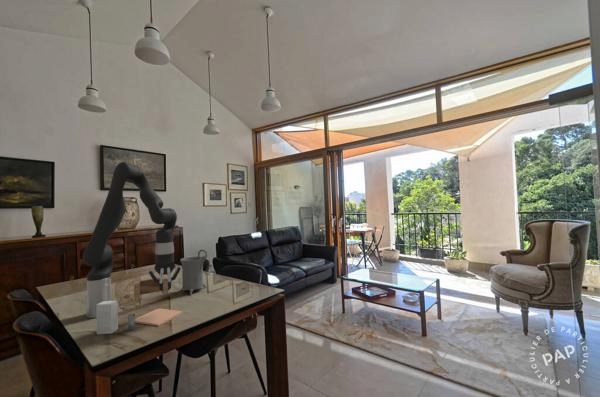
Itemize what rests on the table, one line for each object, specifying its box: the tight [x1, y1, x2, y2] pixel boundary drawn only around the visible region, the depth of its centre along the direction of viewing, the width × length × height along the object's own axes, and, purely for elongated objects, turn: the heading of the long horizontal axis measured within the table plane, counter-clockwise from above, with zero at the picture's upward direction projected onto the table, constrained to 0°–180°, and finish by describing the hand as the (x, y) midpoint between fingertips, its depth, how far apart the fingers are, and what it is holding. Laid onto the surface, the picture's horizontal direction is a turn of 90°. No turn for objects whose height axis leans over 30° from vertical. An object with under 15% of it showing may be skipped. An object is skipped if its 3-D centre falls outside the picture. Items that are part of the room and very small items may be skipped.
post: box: [127, 313, 136, 331], centre depth 110 cm, size 2×2×6 cm
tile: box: [135, 308, 184, 327], centre depth 121 cm, size 15×14×1 cm
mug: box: [179, 249, 208, 296], centre depth 158 cm, size 19×15×25 cm
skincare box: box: [96, 300, 119, 335], centre depth 108 cm, size 6×4×12 cm
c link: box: [133, 276, 169, 300], centre depth 119 cm, size 10×13×6 cm
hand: (165, 290), depth 119 cm, fingers closed on c link
